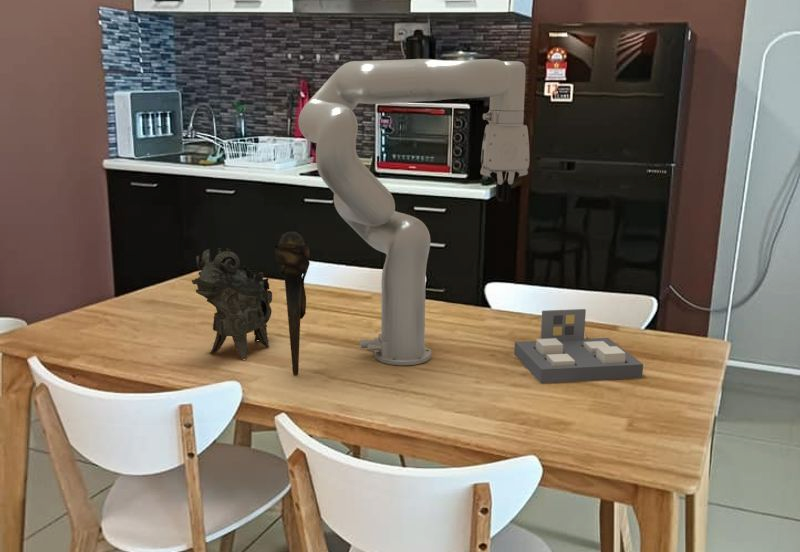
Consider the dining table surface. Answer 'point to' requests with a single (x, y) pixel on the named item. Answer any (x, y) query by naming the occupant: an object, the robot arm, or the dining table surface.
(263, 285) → the vessel
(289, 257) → the decorative torch
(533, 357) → the board
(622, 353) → the button
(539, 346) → the button
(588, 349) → the button
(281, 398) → the dining table surface
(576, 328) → the card
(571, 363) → the button
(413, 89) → the robot arm
